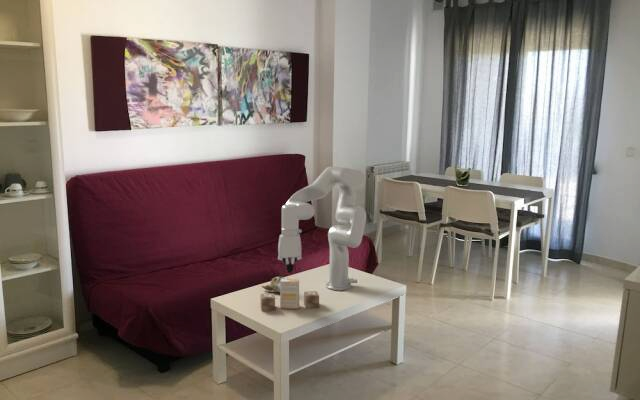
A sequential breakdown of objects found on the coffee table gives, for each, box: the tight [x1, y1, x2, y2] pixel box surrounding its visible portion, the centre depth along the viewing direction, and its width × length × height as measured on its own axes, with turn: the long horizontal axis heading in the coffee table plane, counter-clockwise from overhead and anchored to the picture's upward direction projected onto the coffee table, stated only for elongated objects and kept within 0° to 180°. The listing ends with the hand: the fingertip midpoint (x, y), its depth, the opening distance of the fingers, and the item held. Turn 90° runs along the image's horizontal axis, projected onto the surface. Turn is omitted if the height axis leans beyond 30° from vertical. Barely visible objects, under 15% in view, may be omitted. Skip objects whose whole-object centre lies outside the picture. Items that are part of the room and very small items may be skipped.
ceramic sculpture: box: [261, 275, 284, 293], centre depth 267 cm, size 11×9×15 cm
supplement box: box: [279, 277, 300, 310], centre depth 247 cm, size 8×5×13 cm, turn 84°
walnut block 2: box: [303, 290, 320, 309], centre depth 249 cm, size 6×6×6 cm
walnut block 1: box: [259, 292, 276, 312], centre depth 245 cm, size 6×6×6 cm
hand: (289, 271), depth 245 cm, fingers closed
